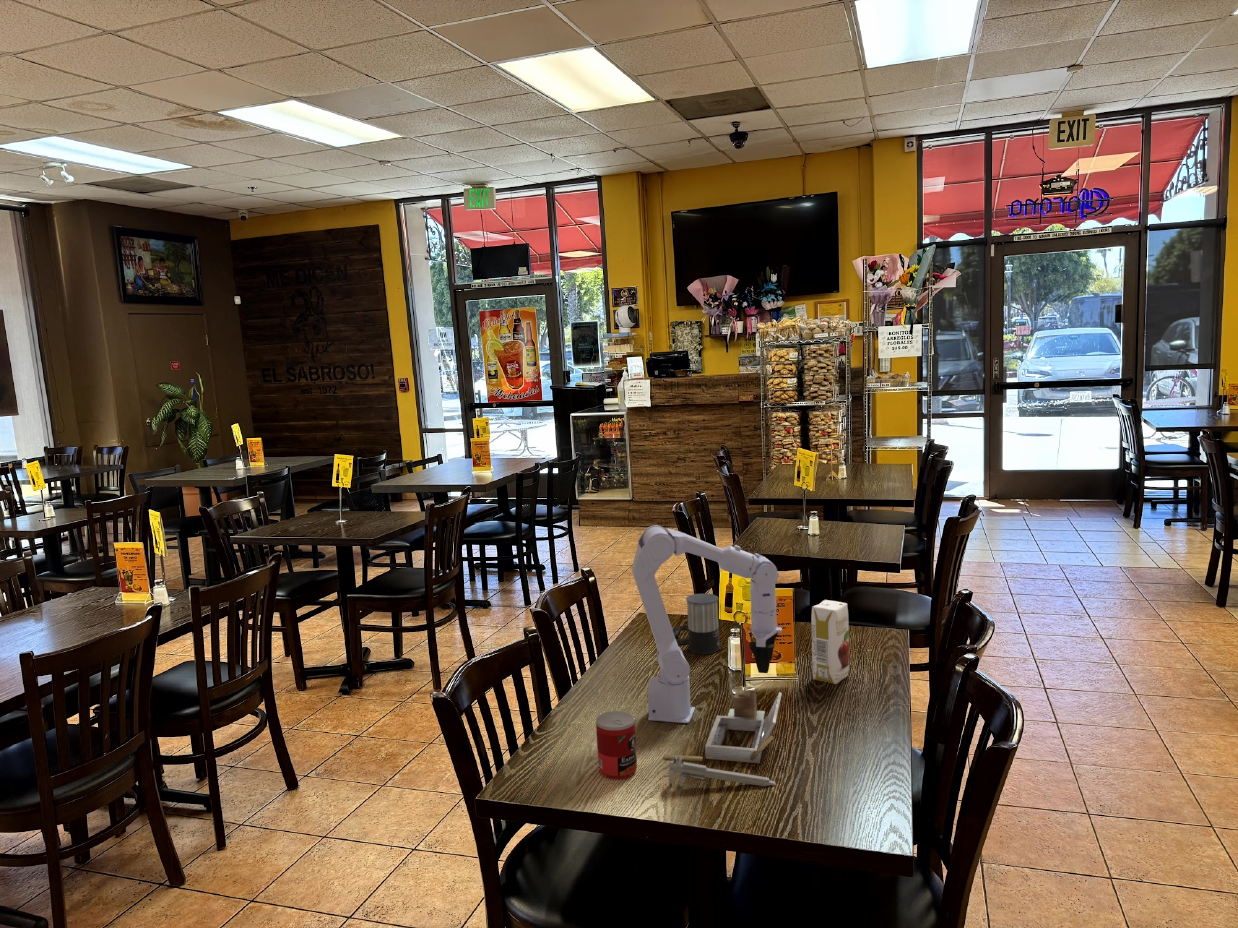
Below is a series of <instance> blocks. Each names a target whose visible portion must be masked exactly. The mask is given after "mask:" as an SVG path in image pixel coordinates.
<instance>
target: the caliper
mask: <svg viewBox="0 0 1238 928" xmlns="http://www.w3.org/2000/svg"><path fill="white" fill-rule="evenodd" d="M682 761H683V760H682V757H680V759H679V760H677V757H676V756H675V759H674V760H670V763H669V764H670V765H669V768H668V785H669V787H670V788H672V787H673V784H674V779H675V776H676V773H679V774H680V776H679V779H678V788H682V786H683V785H684V783H685V782H686V780H687V778H688V777H691V778H692V779H694V780H696V781H697V780H700V781H702V782H703V781H705V779H706V778H707V779H708V778H709V779H714V780H719V781H720V780H722V781H726V782H734V783H738V784H739V783H740V784H746V785H753V786H759V787H769V786H773V787H776V786H777V785H776V784H777V783H776V781H774V780H771V779H770V778H769V777H766V776H761V775H755V774H754V775H753V774H748V773H741V772H736V771H728V770H722V769H718V768H717V769H716V768H708V767H707V765H703V764H697V763H693V762H692V763H691V762H688V761H687V762H686V761H683V762H682Z"/></svg>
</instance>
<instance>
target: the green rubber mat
mask: <svg viewBox="0 0 1238 928" xmlns="http://www.w3.org/2000/svg"><path fill="white" fill-rule="evenodd" d="M765 714H766V711H765V710H757V715H756V718H760V719H765ZM727 716H733V717H734V708H729V711H728V714H727Z"/></svg>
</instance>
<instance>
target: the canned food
mask: <svg viewBox="0 0 1238 928" xmlns="http://www.w3.org/2000/svg"><path fill="white" fill-rule="evenodd" d="M635 722H636V720H635V717H634V715H632V714H631V713H630V712H627V711H624V710H623V711H621V710H611V711H606V712H603V713H601V714H599V715H598V716H596V719H595V724H596V725H595V728H596V729H595V731H596V745H597V746H596V747H597V762H598V764H597V765H598V770H599V772H600V773H599V774H601V775H602V776H603V777H605V778H607V779H611V780H622V779H628V778H630V777H632V776H634V774H635V773H636V771H637V767H638V763H637V762H638V761H637V759H638V758H637V741H636V740H637V739H636V723H635Z"/></svg>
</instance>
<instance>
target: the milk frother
mask: <svg viewBox="0 0 1238 928" xmlns="http://www.w3.org/2000/svg"><path fill="white" fill-rule="evenodd" d="M719 600H720V599H719V597H718V595H715V594H711V593H695V594H691V595H688V596H687V597H686V598H685V601H686V607H687V610H686V611H687V625H679V626H677V627H675V628H672V630H673V633H674V636H675V639H676V642H677V644H678V645H679V644H680V645H681V644H685V643H688V646H687V649H688V651H689V652H691V653H694V654H700V655H707V654H714V652H715V653H717V652H719V651H720V650H721V648H720V647H722V646H721V644H720V632H721V618H720V619H719ZM682 631H687V632H688V636H686V637H685V638H682V639H679V638H680V636H681V632H682ZM719 649H720V650H719ZM718 650H719V651H718ZM716 651H717V652H716Z"/></svg>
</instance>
